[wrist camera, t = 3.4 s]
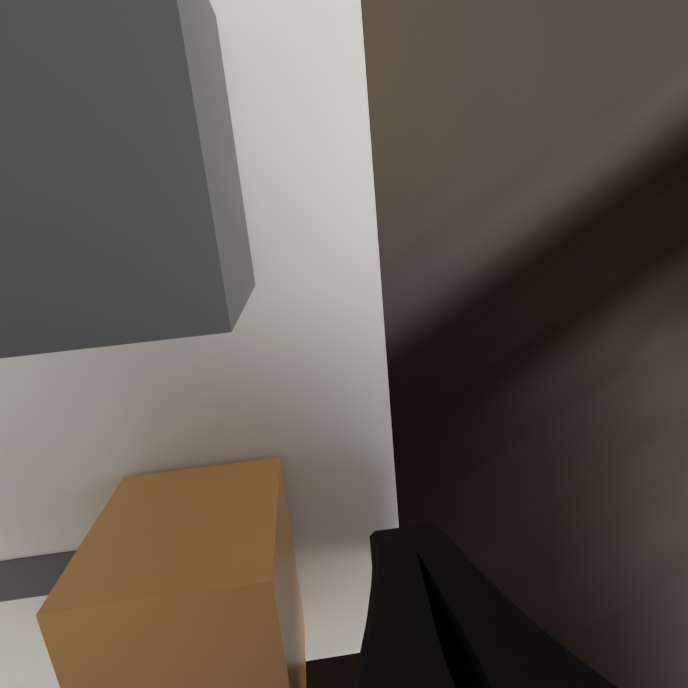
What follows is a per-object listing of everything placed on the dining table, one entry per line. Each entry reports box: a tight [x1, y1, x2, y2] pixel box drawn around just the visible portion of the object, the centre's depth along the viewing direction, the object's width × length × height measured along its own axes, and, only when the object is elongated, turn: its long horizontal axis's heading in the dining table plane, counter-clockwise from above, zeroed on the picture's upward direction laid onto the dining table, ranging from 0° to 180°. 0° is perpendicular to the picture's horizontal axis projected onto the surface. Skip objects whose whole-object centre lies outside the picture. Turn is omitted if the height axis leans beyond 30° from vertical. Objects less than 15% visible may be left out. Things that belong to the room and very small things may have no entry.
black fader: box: [0, 0, 255, 358], centre depth 7 cm, size 4×3×4 cm
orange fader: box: [36, 457, 306, 688], centre depth 9 cm, size 4×3×4 cm
